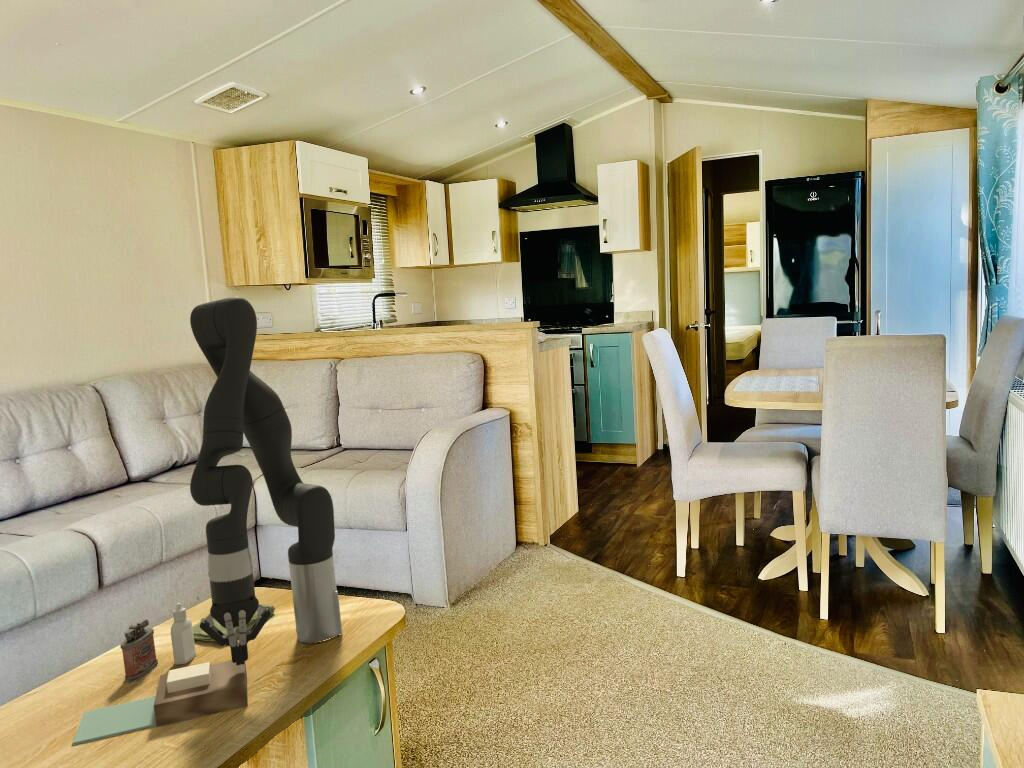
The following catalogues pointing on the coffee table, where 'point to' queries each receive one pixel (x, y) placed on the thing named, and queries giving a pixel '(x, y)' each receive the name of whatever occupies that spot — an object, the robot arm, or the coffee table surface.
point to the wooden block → (203, 695)
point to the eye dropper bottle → (182, 637)
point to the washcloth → (201, 635)
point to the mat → (116, 720)
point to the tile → (189, 677)
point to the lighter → (138, 651)
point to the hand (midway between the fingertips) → (240, 663)
